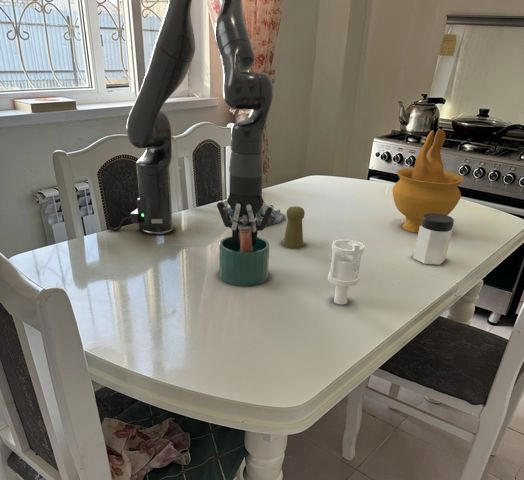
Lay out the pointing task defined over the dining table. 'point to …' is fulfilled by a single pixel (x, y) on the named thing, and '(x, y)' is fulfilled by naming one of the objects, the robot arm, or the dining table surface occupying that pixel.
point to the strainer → (345, 268)
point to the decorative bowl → (426, 185)
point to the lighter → (245, 234)
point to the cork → (294, 228)
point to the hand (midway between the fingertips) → (244, 244)
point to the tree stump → (273, 218)
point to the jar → (433, 238)
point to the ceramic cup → (243, 262)
